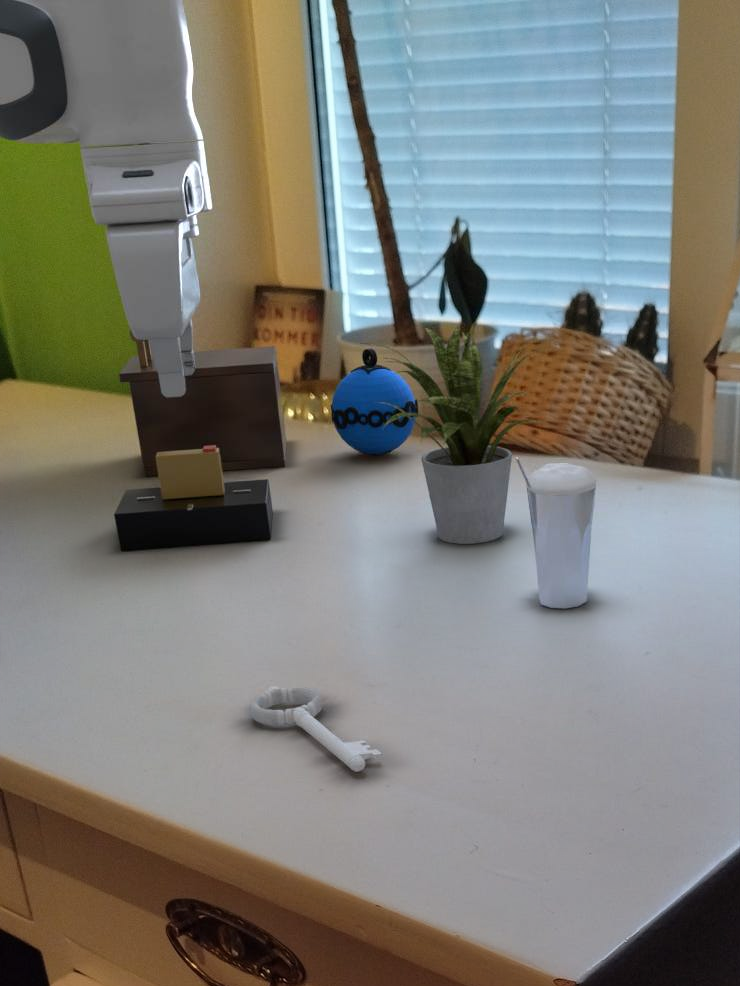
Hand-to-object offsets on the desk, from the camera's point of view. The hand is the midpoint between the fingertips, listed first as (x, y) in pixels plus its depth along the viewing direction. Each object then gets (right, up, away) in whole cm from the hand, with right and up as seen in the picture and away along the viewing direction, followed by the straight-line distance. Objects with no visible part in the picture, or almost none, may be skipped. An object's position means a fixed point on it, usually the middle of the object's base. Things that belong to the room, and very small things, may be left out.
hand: (180, 384), depth 104 cm
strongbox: (-3, +3, +29) cm, 29 cm away
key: (+15, -31, -32) cm, 47 cm away
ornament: (+13, +3, +28) cm, 31 cm away
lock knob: (0, -8, +4) cm, 9 cm away
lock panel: (0, -10, +6) cm, 12 cm away
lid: (-4, +10, +25) cm, 27 cm away
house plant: (+22, -11, +2) cm, 25 cm away
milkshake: (+29, -20, -14) cm, 38 cm away
